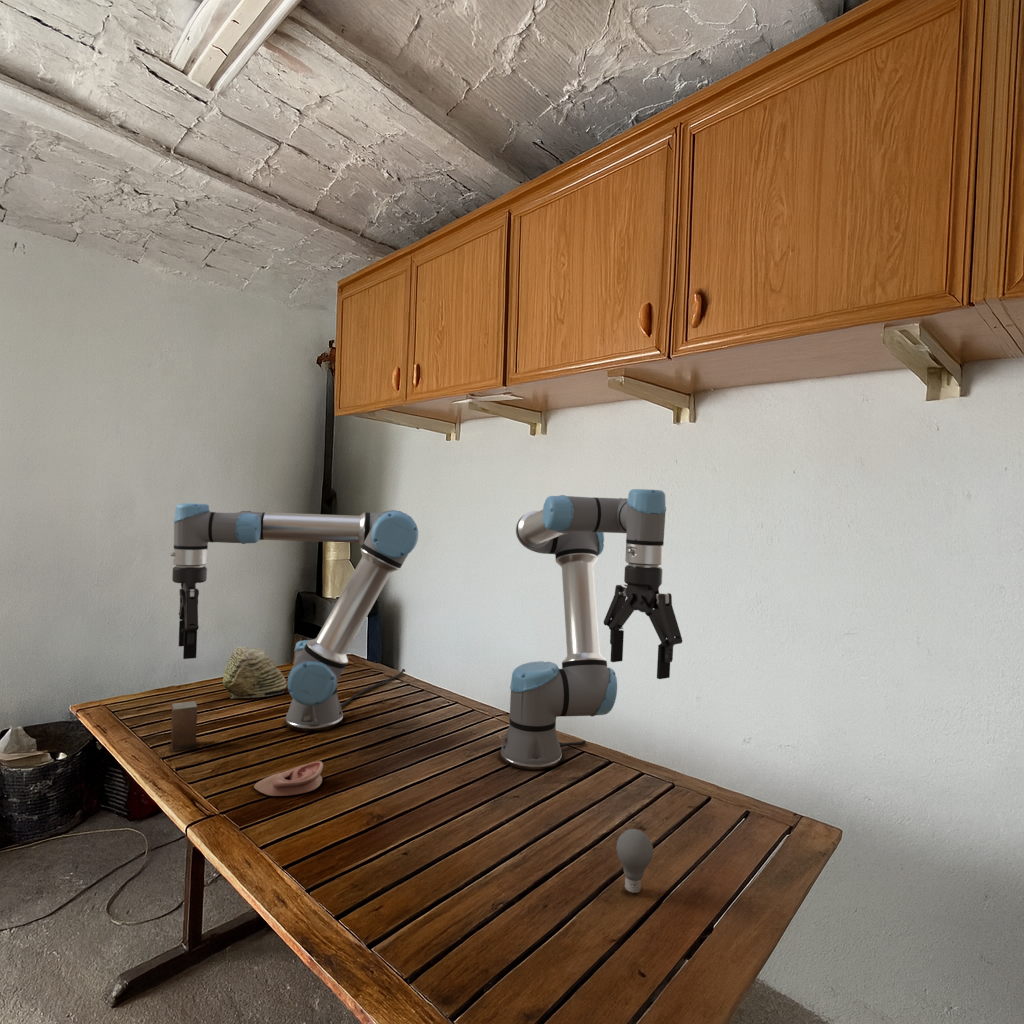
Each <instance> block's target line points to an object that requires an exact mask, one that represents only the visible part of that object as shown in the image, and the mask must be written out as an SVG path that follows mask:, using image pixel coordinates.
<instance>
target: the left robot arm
mask: <svg viewBox="0 0 1024 1024" xmlns="http://www.w3.org/2000/svg"><path fill="white" fill-rule="evenodd" d="M174 509H175V510H174V520H173V552H170V557H173V558H172V564H173V565H174V566H173V567H172V574H171V575H172V577H171V578H172V582H173V583H175V584H180V589H179V590H178V591H179V592H178V593H179V610H178V619H179V623H178V624H179V625H178V647H183V653H182V655H183V656H182V659H183V660H189V659H197V652H198V651H197V649H198V647H197V646H198V630H199V629H200V628H199V627H200V626H199V596H200V595H199V594H200V590H199V589H198V588H197V585H196V584H200V583H205V582H206V581H207V577H208V568H207V566H206V565H208V554H209V549H208V548H209V547H208V544H209V543H224V544H225V543H226V544H243V545H246V544H256V543H258V542H259V541H287V542H288V541H289V542H290V541H291V542H318V543H319V542H323V543H350V544H351V543H352V544H353V543H354V544H359V545H361V546H360V554H361V558H360V559H359V561H358V563H357V565H356V567H355V569H354V570H353V572H352V574H351V575H350V578H349V579H348V581H347V583H346V585H345V586H344V588H343V590H342V592H341V593H340V595H339V597H338V599H337V601H336V603H335V604H334V606H333V608H332V610H331V611H330V613H329V615H328V616H327V618H326V620H325V622H324V624H323V626H322V627H321V628H320V631H319V633H318V634H317V636H316V637H315V638H313V639H303V640H299V641H297V642H296V643H295V648H294V650H293V651H294V663H293V665H292V667H291V670H290V671H289V673H288V676H287V680H286V685H287V690H288V693H289V695H290V696H291V698H292V699H291V702H290V704H289V708H288V711H287V713H286V715H285V726H286V728H287V729H289V730H291V731H294V732H295V731H296V732H301V733H316V732H325V731H329V730H332V729H335V728H337V727H339V726H340V725H342V723H343V722H344V713H343V709H342V707H344V706H346V705H347V704H348V703H350V702H351V701H352V700H354V699H355V698H357V697H358V696H360V695H362V694H363V693H366V692H367V691H370V690H371V689H374V688H376V687H378V686H381V685H383V684H385V683H388V682H390V681H393V680H395V679H397V678H398V677H400V676H402V675H403V674H404V673H406V669H405V668H402V669H401V671H400V673H397V674H396V675H394V676H392V677H389V678H387V679H385V680H382V681H380V682H377V683H376V684H373V685H370V686H369V687H366V688H364V689H362V690H360V691H358V692H356V693H355V694H354V695H352V696H350V697H349V698H347V699H346V700H345V701H344V702H343V703H341V702H340V699H339V695H338V682H339V680H340V677H341V676H342V674H343V672H344V670H345V668H346V667H347V665H348V663H349V658H348V655H347V653H348V651H349V649H350V647H351V646H352V645H353V642H354V640H355V638H356V636H358V633H359V631H360V629H361V628H362V626H363V624H364V622H365V620H366V619H367V617H368V615H369V613H370V612H371V610H372V609H373V606H374V605H375V603H376V601H377V599H378V598H379V595H380V593H381V592H382V590H383V588H384V587H385V585H386V583H387V581H388V579H389V578H390V576H391V574H392V573H393V572H396V571H399V570H401V568H402V566H403V565H404V562H406V559H407V557H408V556H409V555H410V553H412V551H413V550H414V549H415V547H416V546H417V543H418V541H419V529H418V526H417V523H416V521H415V520H414V519H413V517H412V516H410V515H409V514H408V513H405V512H403V511H401V510H394V509H391V510H385V511H377V512H365V511H364V512H363V513H361V514H360V515H353V514H352V515H351V514H350V515H348V514H347V515H346V514H324V513H323V514H321V513H296V512H271V511H270V512H269V511H265V512H264V511H263V512H262V511H252V510H241V511H237V512H216V511H211V510H210V506H209V504H207V503H192V502H190V503H189V502H188V503H187V502H181V503H180V502H179V503H178V504H177V505H176V506H175V508H174Z"/></svg>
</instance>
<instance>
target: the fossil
mask: <svg viewBox="0 0 1024 1024" xmlns="http://www.w3.org/2000/svg"><path fill="white" fill-rule="evenodd" d="M222 676H223V677H222V685H223V687H224V688H225V690H226V691H228V693H229V698H230V699H250V698H264V697H271V696H275V695H281V694H284V693H285V691H286V689H287V688H288V685H287V680H286V678H285V676H284V674H283V673H282V672H281V669H279V668H278V667H277V665H276V663H275V662H274V660H273V659H272V658H271V657H270V656H269V655H268V654H267V653H266V652H265V650H264V649H263V648H260V647H258V648H251V647H247V646H246V647H245V646H238V647H237V648H236V649H235V650H233V651H232V653H231V656H230V657H229V659H228V660H227V663H226V666H225V668H224V671H223V675H222Z"/></svg>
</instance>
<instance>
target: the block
mask: <svg viewBox="0 0 1024 1024" xmlns="http://www.w3.org/2000/svg"><path fill="white" fill-rule="evenodd" d="M170 725H171V726H170V729H171V730H170V748H171V749H170V750H171V752H172V753H173V752H179V751H185V750H192V749H196V748H197V730H198V729H197V726H198V704H197V701H196V700H192V701H191V700H190V701H184V702H175V703H174V702H173V703H171V722H170Z"/></svg>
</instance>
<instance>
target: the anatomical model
mask: <svg viewBox="0 0 1024 1024" xmlns="http://www.w3.org/2000/svg"><path fill="white" fill-rule="evenodd" d="M323 768H324V763H323V761H321V760H318V761H312V762H309V763H306V764H303V765H299V766H297V767H294V768H291V769H288V770H286V771H283V772H278V773H275V774H272V775H269V776H267V777H265V778H263V779H260V780H259V781H257V782H256V783H255V784H254V785H253V788H254V789H255V790H256V791H257V792H259V793H261V794H264V795H266V796H268V797H269V796H270V797H284V796H295V795H301V794H305V793H308V792H312V791H315V790H316V789H317V788H319V787H320V786H321V784H322V783H323V777H322V775H321V774H322V771H323Z"/></svg>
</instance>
